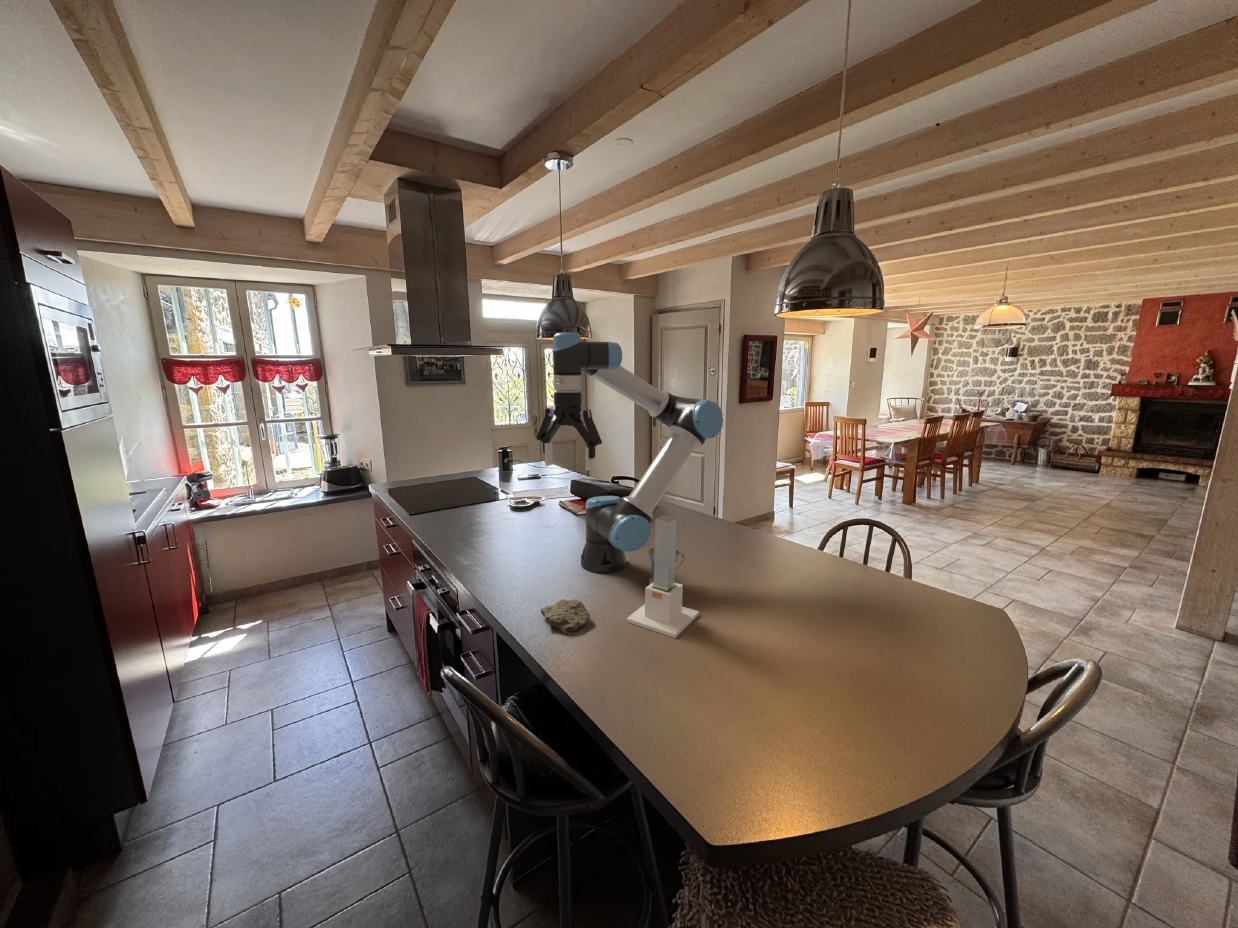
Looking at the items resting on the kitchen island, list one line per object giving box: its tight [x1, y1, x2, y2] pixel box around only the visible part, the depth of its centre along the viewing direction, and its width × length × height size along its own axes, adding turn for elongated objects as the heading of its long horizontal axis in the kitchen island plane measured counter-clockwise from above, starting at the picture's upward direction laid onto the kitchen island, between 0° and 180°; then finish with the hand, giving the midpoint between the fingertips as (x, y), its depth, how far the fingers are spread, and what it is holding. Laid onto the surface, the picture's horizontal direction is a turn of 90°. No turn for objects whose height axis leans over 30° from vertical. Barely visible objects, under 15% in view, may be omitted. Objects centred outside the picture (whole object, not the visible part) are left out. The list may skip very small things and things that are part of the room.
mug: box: [647, 547, 685, 585], centre depth 149 cm, size 12×9×11 cm
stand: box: [626, 582, 700, 639], centre depth 128 cm, size 14×14×9 cm
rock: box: [540, 598, 591, 635], centre depth 127 cm, size 11×12×4 cm
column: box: [653, 515, 678, 593], centre depth 126 cm, size 4×4×20 cm
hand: (568, 467), depth 138 cm, fingers open, 13 cm apart
